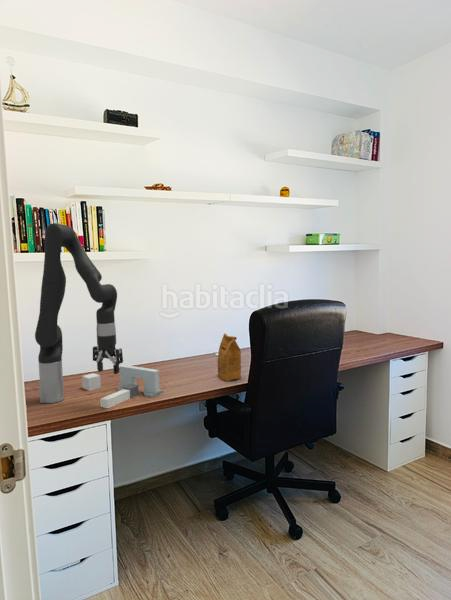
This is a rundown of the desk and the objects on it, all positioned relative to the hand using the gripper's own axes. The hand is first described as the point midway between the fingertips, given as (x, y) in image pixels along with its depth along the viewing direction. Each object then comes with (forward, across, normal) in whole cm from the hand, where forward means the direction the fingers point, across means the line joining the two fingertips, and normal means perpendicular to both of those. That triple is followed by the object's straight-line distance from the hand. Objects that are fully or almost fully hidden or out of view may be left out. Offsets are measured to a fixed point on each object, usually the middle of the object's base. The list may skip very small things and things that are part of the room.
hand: (108, 372), depth 172 cm
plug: (+14, 0, -6) cm, 15 cm away
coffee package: (+15, -26, -56) cm, 64 cm away
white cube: (+14, +24, -14) cm, 31 cm away
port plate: (+14, 0, -19) cm, 24 cm away
